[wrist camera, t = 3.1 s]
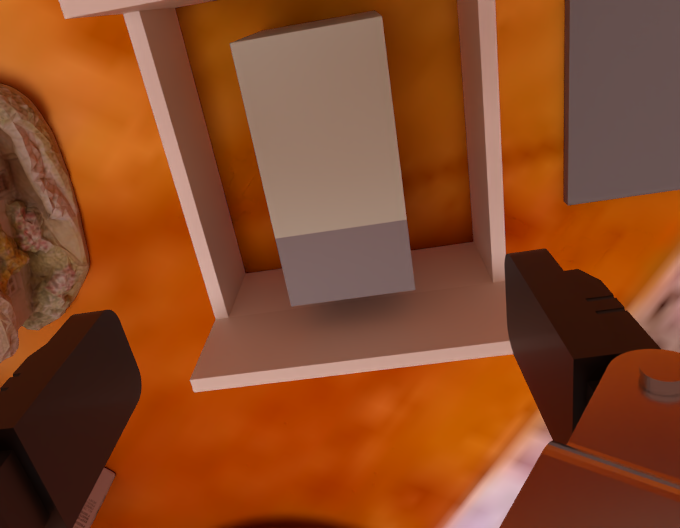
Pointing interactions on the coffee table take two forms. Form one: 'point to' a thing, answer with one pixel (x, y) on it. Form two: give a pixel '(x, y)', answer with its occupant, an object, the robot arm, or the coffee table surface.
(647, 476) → the robot arm
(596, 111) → the mat
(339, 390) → the coffee table surface
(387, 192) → the box
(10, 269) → the ceramic model
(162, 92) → the carton
